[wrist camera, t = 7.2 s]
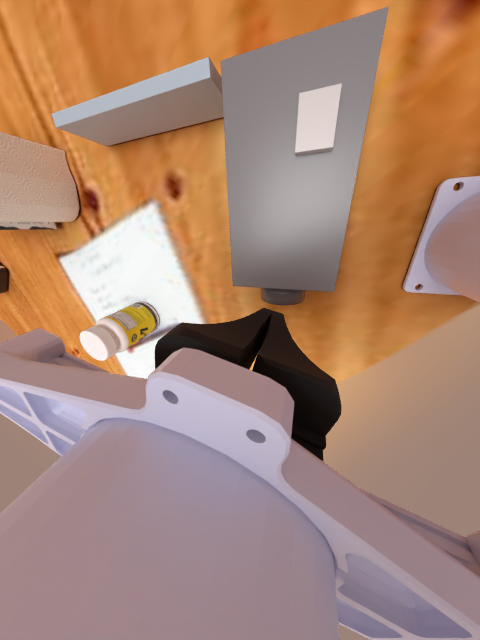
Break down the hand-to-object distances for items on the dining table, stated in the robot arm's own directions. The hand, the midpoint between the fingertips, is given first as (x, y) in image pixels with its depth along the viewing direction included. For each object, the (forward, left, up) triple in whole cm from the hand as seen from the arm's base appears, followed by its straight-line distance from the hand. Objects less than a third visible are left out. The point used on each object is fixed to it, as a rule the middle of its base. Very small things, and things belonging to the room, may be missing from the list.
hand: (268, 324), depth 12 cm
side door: (+12, -14, -9) cm, 21 cm away
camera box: (0, -8, -9) cm, 12 cm away
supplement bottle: (+20, +6, -10) cm, 23 cm away
